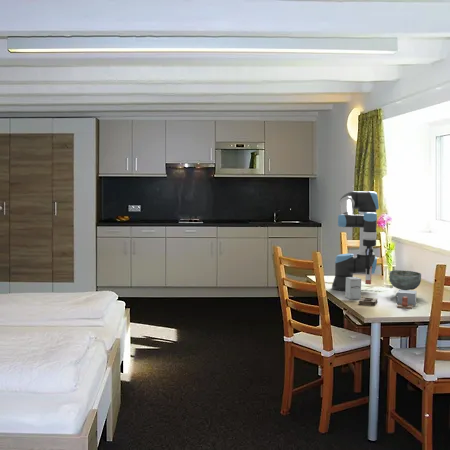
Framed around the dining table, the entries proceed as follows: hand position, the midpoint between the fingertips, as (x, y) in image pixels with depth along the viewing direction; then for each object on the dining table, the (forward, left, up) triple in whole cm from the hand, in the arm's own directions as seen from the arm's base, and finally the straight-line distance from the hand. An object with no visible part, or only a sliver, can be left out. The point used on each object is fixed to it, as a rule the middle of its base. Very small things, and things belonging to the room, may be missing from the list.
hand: (368, 279), depth 366 cm
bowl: (-35, +18, -15) cm, 42 cm away
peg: (0, 0, -3) cm, 3 cm away
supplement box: (-15, -11, -15) cm, 24 cm away
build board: (-3, 0, -15) cm, 15 cm away
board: (-1, +21, -15) cm, 26 cm away
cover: (-12, +21, -15) cm, 28 cm away
